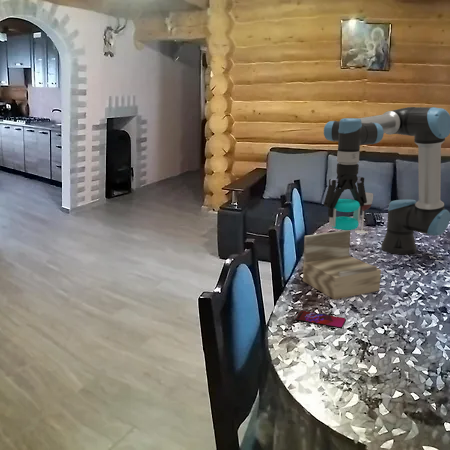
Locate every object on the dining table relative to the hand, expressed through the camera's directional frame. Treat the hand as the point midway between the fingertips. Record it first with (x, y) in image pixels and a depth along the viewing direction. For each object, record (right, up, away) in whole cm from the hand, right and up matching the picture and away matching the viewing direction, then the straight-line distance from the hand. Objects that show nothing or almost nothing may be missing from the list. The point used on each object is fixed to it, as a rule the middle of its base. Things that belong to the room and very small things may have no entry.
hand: (344, 224), depth 190 cm
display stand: (0, -23, +6) cm, 24 cm away
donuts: (0, -1, 0) cm, 1 cm away
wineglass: (+27, -4, +80) cm, 85 cm away
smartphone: (-13, -31, -23) cm, 41 cm away
